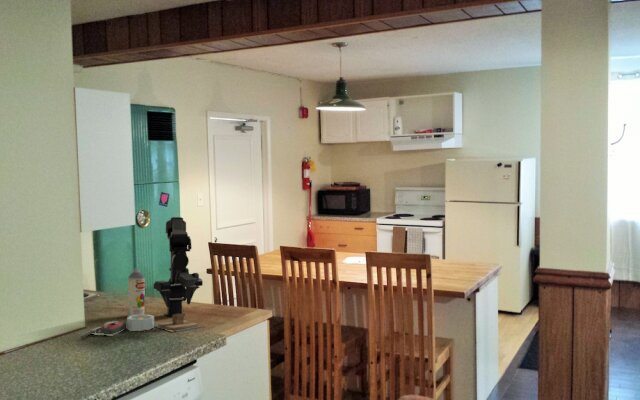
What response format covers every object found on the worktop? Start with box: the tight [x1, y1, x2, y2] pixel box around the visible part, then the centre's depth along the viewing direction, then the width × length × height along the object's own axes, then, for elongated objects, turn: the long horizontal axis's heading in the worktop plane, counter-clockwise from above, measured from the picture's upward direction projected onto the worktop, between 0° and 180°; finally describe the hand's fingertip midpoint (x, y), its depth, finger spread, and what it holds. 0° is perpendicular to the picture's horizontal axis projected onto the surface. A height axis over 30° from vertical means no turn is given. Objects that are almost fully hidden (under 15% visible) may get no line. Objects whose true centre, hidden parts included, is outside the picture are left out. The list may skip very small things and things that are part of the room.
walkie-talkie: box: [80, 320, 127, 339], centre depth 208 cm, size 9×4×20 cm
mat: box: [154, 324, 203, 332], centre depth 221 cm, size 13×13×1 cm
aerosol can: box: [126, 268, 146, 318], centre depth 240 cm, size 7×7×20 cm
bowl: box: [126, 314, 155, 330], centre depth 217 cm, size 10×10×4 cm
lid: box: [157, 313, 199, 331], centre depth 221 cm, size 11×11×4 cm
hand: (178, 305), depth 221 cm, fingers open, 9 cm apart
